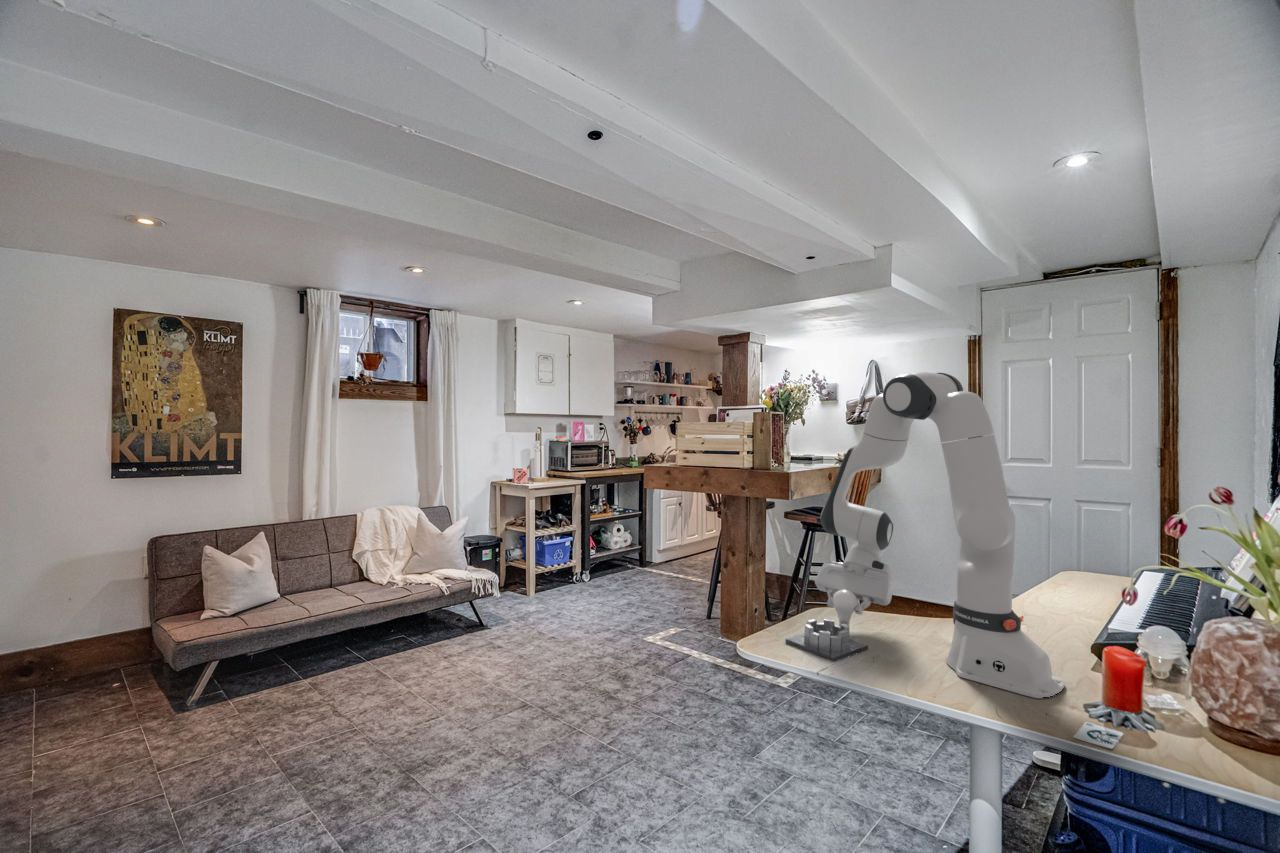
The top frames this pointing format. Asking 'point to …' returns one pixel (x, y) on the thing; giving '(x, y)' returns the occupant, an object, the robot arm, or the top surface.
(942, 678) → the top surface
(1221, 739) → the top surface
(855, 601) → the lightbulb
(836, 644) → the lamp socket
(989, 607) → the robot arm
